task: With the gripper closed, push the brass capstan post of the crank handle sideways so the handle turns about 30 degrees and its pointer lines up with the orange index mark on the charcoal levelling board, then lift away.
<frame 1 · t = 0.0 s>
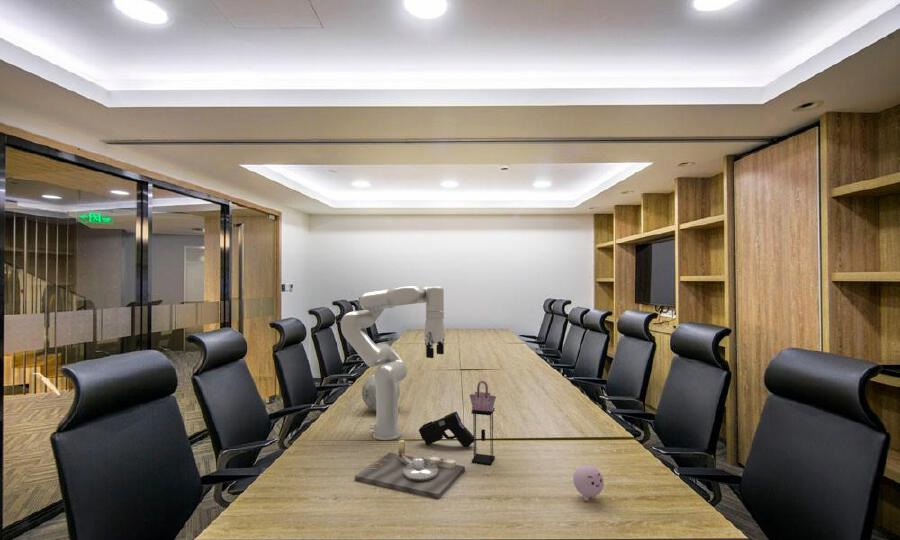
hand: (435, 355, 182), 37 cm above the table, tool pointing down, fingers open, 9 cm apart
toy 2: (588, 499, 135), on the table
handbag: (483, 460, 164), on the table
crank handle: (412, 457, 154), point 5 cm above the table, hinge at -30.0°
level board: (411, 475, 152), on the table
toy: (446, 446, 179), on the table
decorative sphere: (381, 411, 228), on the table
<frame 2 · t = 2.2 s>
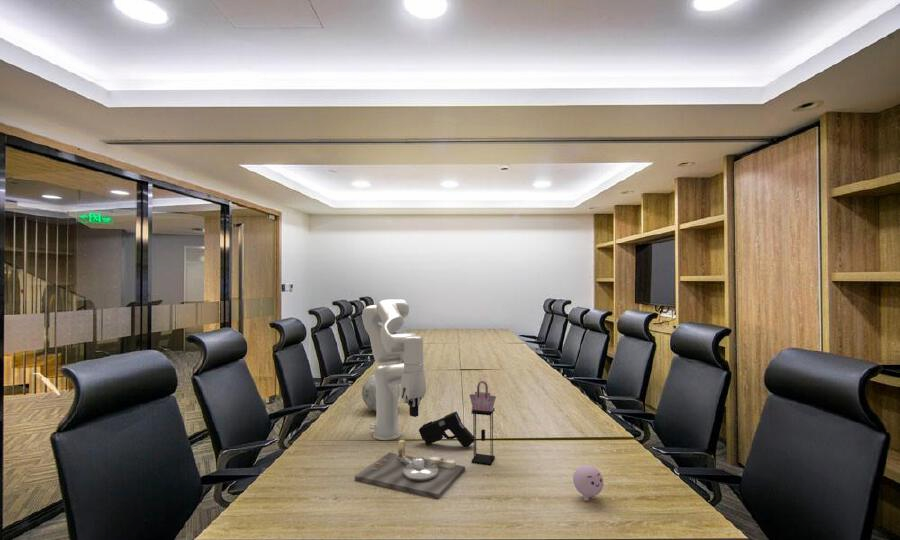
hand: (414, 415, 165), 17 cm above the table, tool pointing down, fingers closed
nothing on the table moved.
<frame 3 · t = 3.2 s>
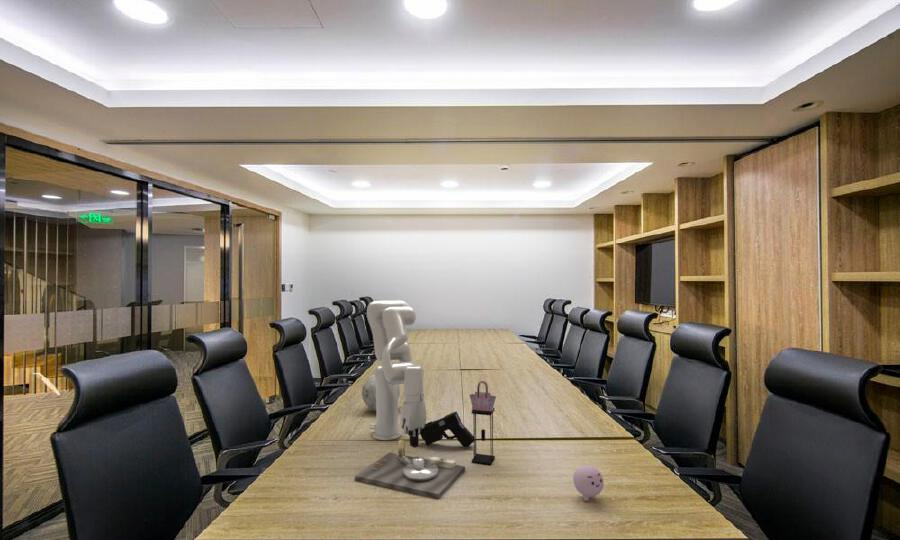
hand: (414, 446, 165), 5 cm above the table, tool pointing down, fingers closed
nothing on the table moved.
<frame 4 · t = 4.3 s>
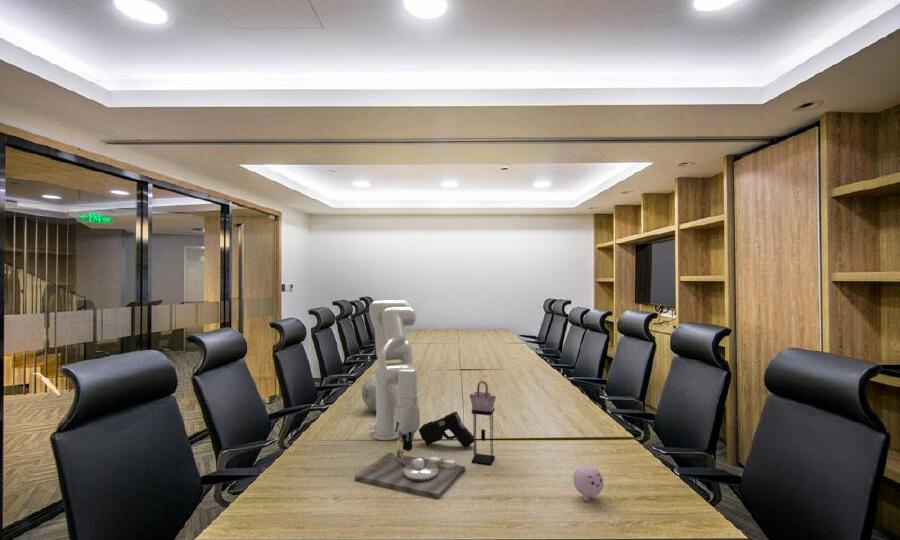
hand: (407, 449, 163), 5 cm above the table, tool pointing down, fingers closed
crank handle: (412, 457, 154), point 5 cm above the table, hinge at -26.6°, touching gripper
everything else where it was.
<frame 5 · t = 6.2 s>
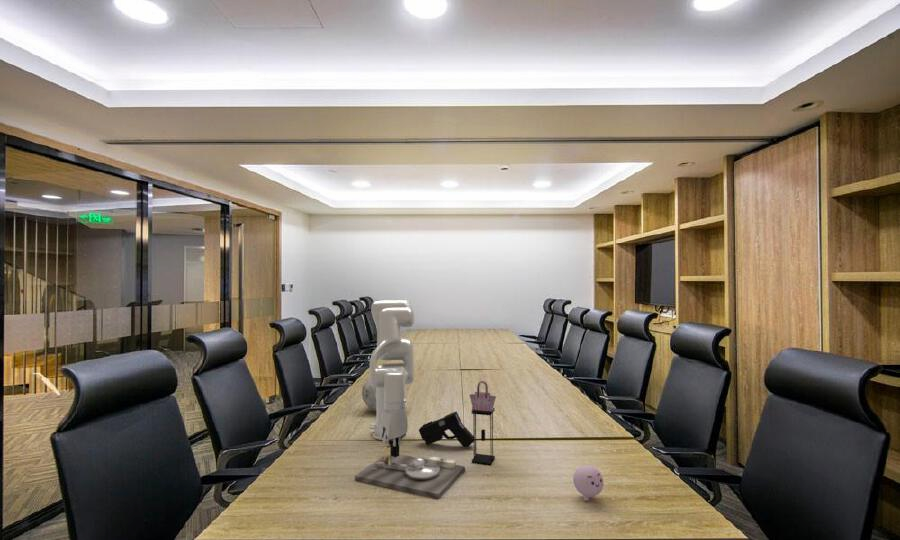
hand: (394, 455, 158), 5 cm above the table, tool pointing down, fingers closed
crank handle: (407, 459, 152), point 5 cm above the table, hinge at 6.4°, touching gripper
everything else where it was.
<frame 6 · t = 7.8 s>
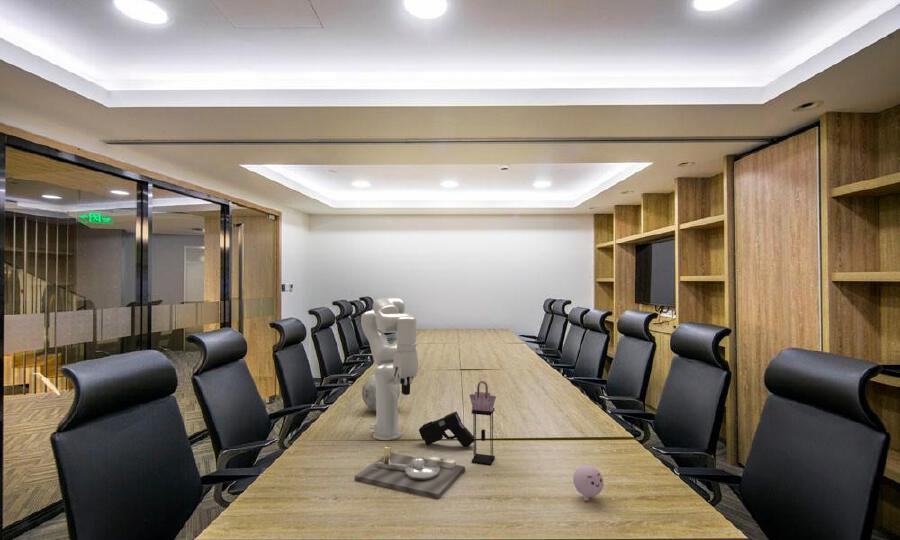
hand: (405, 393, 170), 24 cm above the table, tool pointing down, fingers closed
crank handle: (407, 459, 152), point 5 cm above the table, hinge at 6.5°
everything else where it was.
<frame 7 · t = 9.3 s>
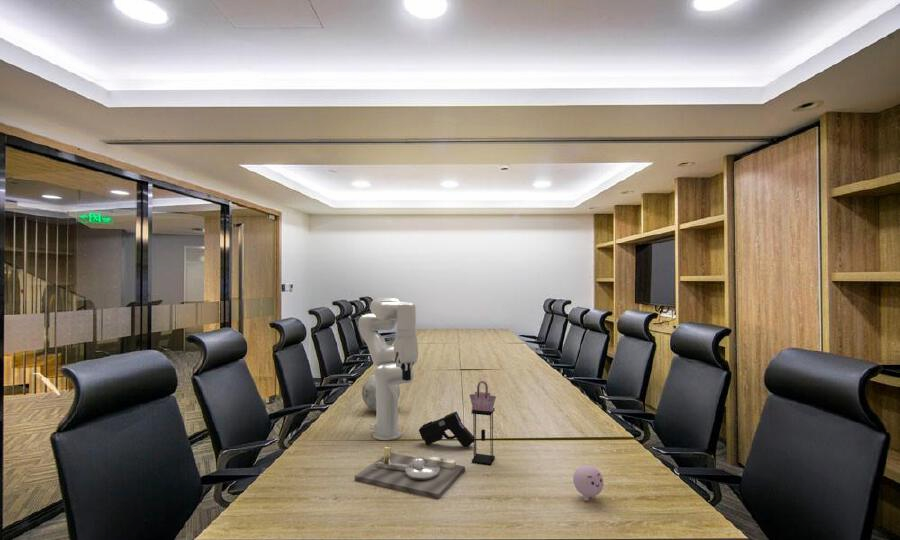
hand: (406, 379, 171), 29 cm above the table, tool pointing down, fingers closed
nothing on the table moved.
at the end: crank handle at +6° (first picture: -30°) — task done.
